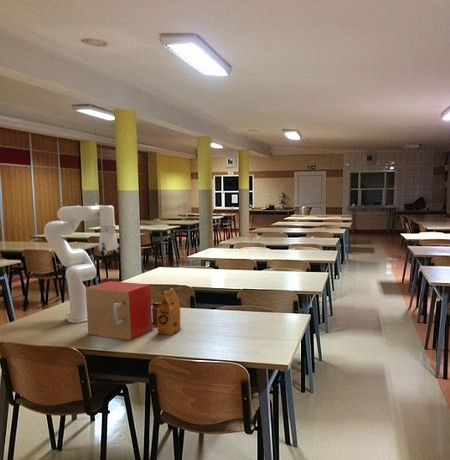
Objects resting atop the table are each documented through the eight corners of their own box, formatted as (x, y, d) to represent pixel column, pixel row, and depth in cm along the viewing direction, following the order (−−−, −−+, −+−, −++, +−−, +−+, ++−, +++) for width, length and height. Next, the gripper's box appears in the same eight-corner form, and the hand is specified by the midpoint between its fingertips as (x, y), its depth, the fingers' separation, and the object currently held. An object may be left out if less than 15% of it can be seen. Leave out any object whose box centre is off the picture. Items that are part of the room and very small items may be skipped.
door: (121, 344, 233) (118, 295, 229) (78, 337, 244) (75, 290, 241) (131, 339, 239) (128, 291, 236) (89, 333, 251) (86, 287, 248)
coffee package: (154, 333, 249) (152, 291, 246) (167, 327, 260) (165, 286, 257) (171, 335, 245) (169, 293, 242) (183, 329, 256) (182, 288, 253)
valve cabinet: (131, 339, 240) (129, 291, 236) (89, 333, 251) (87, 287, 248) (152, 329, 256) (150, 284, 252) (112, 324, 267) (110, 280, 264)
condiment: (166, 324, 266) (165, 302, 264) (152, 327, 261) (151, 305, 259) (160, 321, 272) (159, 300, 270) (146, 323, 267) (145, 302, 266)
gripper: (111, 227, 265) (113, 259, 267) (91, 230, 249) (94, 263, 251) (123, 227, 262) (125, 259, 264) (103, 230, 246) (106, 264, 248)
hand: (110, 261), depth 257 cm, fingers open, 9 cm apart
